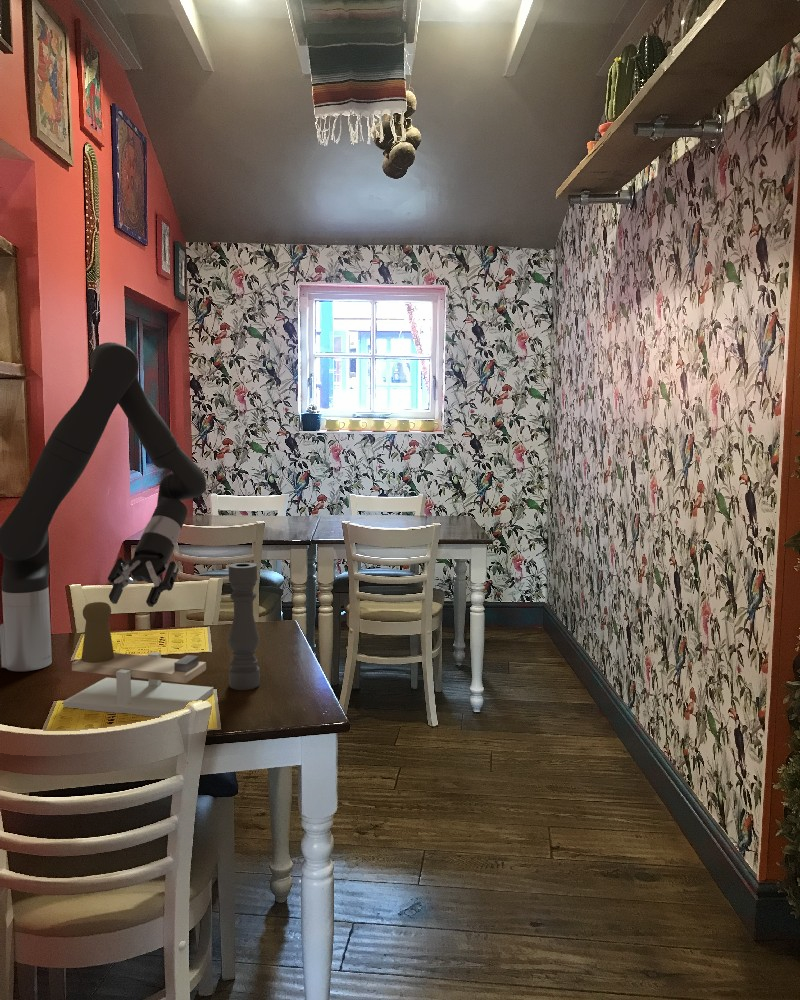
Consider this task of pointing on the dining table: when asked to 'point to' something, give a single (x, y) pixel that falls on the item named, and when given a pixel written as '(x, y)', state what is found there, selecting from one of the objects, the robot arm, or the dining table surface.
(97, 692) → the beam stand
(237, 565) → the candle holder
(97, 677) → the dining table surface
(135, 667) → the beam
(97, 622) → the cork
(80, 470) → the robot arm
